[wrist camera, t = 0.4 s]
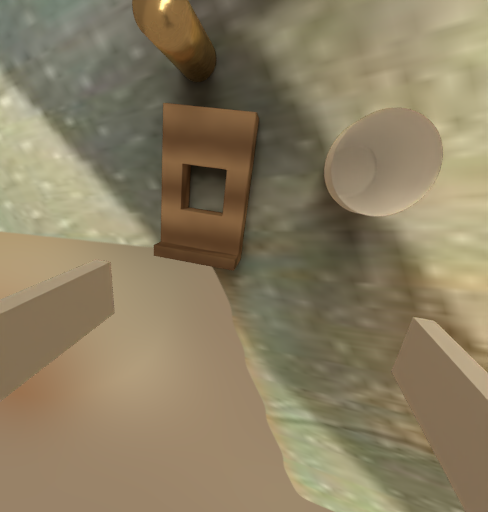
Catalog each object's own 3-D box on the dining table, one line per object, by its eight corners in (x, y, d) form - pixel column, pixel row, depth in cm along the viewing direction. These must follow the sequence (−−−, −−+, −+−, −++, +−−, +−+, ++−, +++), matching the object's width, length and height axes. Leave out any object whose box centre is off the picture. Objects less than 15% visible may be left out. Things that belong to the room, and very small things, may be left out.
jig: (173, 109, 33) (155, 97, 28) (259, 118, 32) (254, 107, 27) (169, 246, 40) (153, 255, 35) (240, 259, 38) (233, 270, 33)
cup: (301, 166, 32) (308, 158, 21) (362, 116, 30) (407, 77, 18) (339, 218, 34) (365, 237, 22) (401, 175, 31) (467, 172, 19)
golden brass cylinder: (180, 34, 30) (131, -32, 21) (217, 36, 30) (185, -31, 20) (178, 80, 32) (132, 38, 23) (214, 83, 31) (182, 41, 22)
